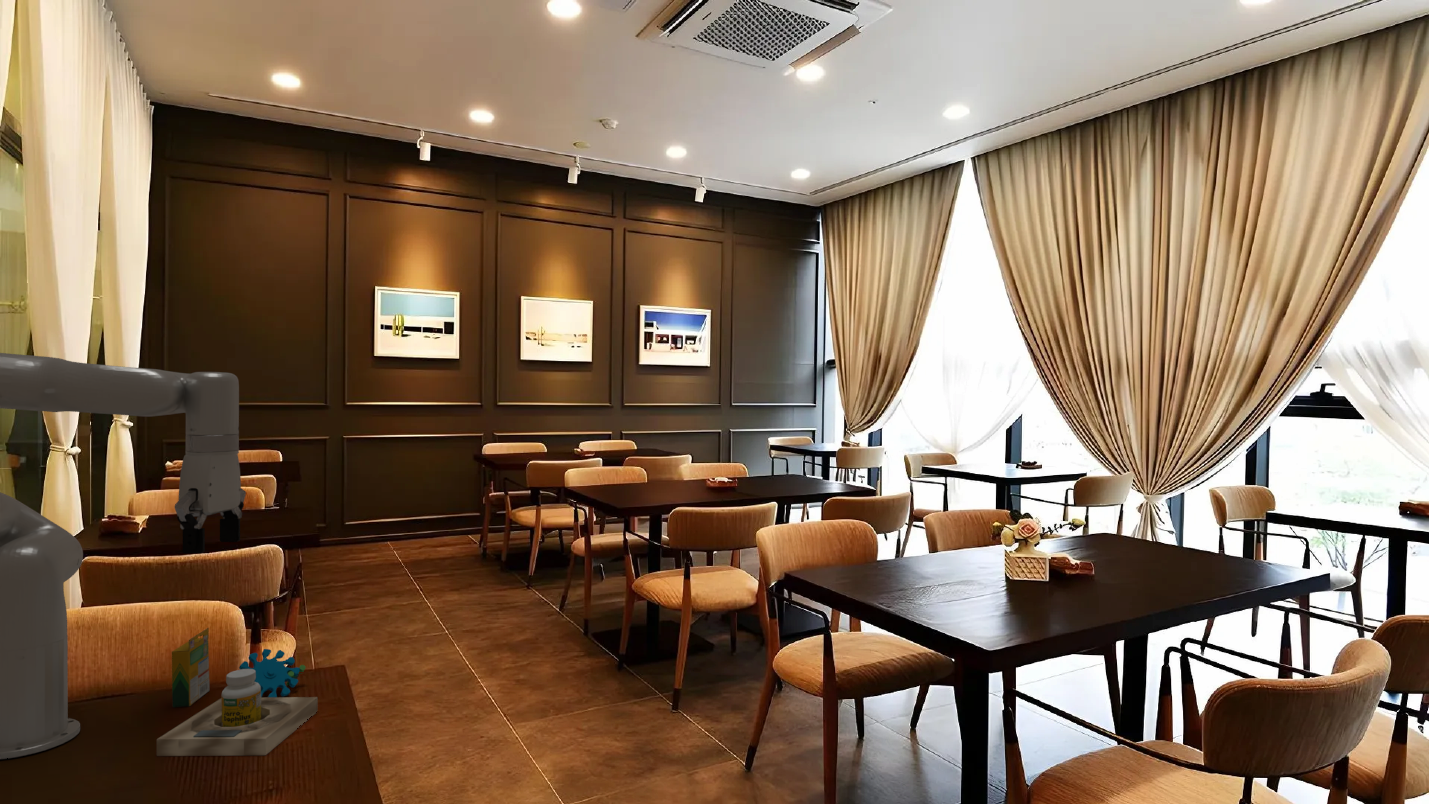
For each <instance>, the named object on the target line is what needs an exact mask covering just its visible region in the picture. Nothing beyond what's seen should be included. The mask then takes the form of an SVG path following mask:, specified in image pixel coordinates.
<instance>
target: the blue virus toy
mask: <svg viewBox="0 0 1429 804" xmlns="http://www.w3.org/2000/svg"><path fill="white" fill-rule="evenodd" d="M271 653H272V649H269V648H264V649H263V651H261V655H262V660H260V661H259V660H257V658H258V656H259V654H258V653H257V652H253V653H251V654H249V655H248V660H249V661H250V663H252V666H253V667H250V665H249V664H250V663H249V662H248V661H247V660H245V661H243V662H242V663H241V664H239V667H238V670H241V669H254V670H255V671H256V679H255V681H254V682H257V683H259V685H260V687H261V697H263V694H264V693H266V692H267V691H271V693H269V694H268V696H267V697H278V695H277V689H278V688H281V692H280V696H281V697H287V696H288V695H290V693H291V690H290V688H295V687H296V686H297V685H298V683H299V679H298V678H299V677H300V674H303V673H304V672H305V670H306V669H307V668H306V666H305V664H301V665H299V667H298V666H297V667H287V666H293V665H294V664H295V661H296V660H295V658H294V657H293V656H290V657H288V658H287V659H285V660H278V659H282V658H284V656H285V652H284V651H283V650H281V649H279V650H277V652H276V654H275V656H274V657H272V658H270V659H269V658H268V657H269V656H270V654H271ZM286 665H287V666H286ZM299 672H303V673H299ZM288 685H289V687H290V688H289V687H288Z"/></svg>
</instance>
